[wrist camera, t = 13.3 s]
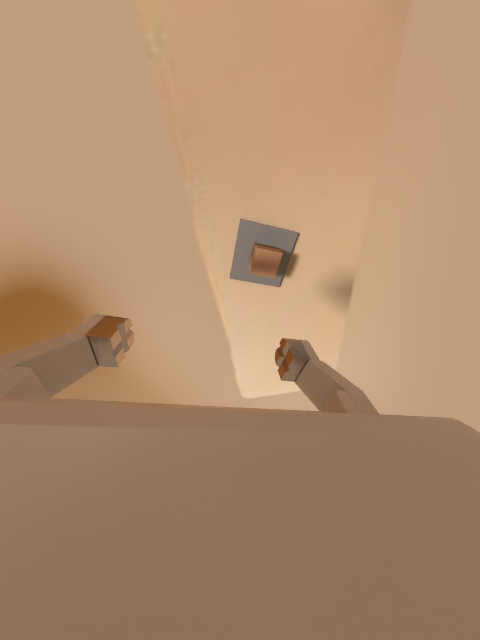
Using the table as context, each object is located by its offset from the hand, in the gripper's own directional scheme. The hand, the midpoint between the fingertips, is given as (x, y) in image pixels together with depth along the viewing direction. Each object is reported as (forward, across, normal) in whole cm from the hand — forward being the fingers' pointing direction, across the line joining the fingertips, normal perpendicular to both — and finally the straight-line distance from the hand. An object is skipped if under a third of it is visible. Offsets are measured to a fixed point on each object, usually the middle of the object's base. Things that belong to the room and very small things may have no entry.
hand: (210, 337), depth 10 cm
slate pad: (+31, -9, +2) cm, 32 cm away
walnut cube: (+30, -9, +2) cm, 32 cm away
